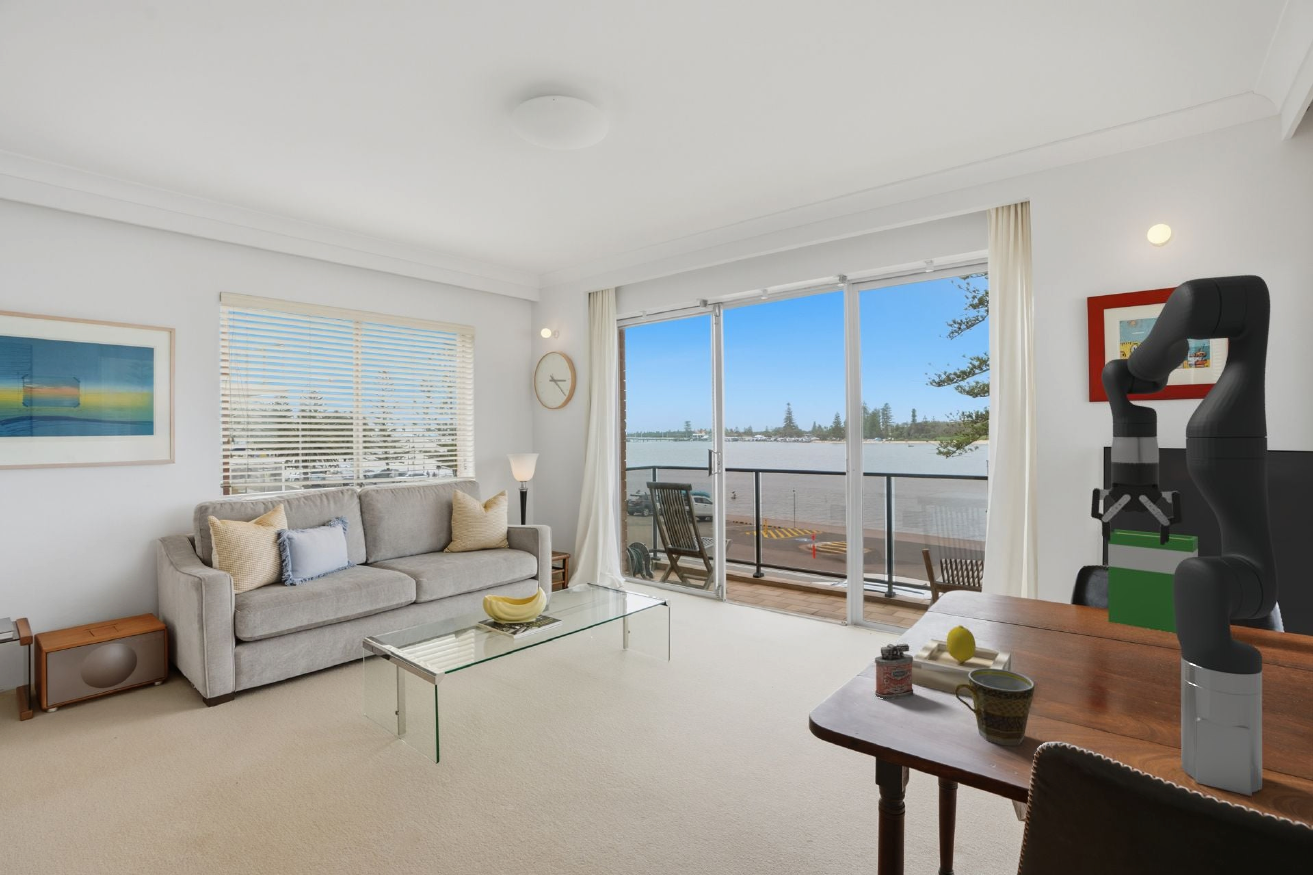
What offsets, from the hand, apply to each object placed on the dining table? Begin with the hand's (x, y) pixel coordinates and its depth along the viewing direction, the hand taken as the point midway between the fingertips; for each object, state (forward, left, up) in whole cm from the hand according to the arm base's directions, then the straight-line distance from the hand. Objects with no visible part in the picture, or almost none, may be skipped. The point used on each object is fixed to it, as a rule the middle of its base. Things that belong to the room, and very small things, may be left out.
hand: (1135, 542), depth 128 cm
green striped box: (+55, -3, -30) cm, 63 cm away
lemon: (-12, +29, -27) cm, 41 cm away
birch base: (-12, +29, -31) cm, 44 cm away
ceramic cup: (-36, +19, -30) cm, 51 cm away
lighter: (-28, +38, -30) cm, 56 cm away
